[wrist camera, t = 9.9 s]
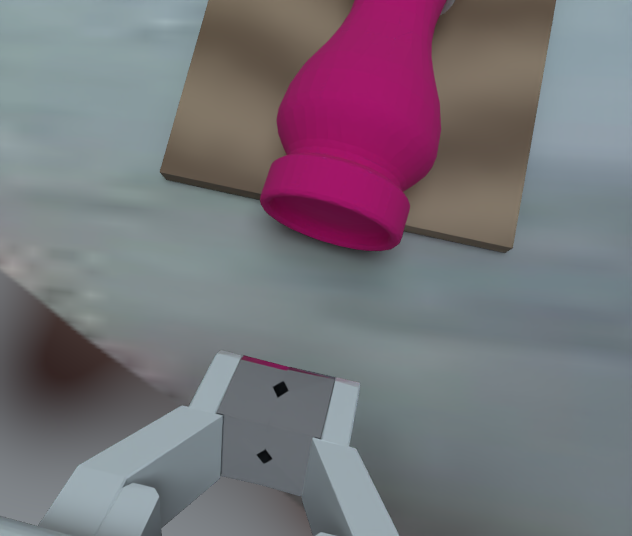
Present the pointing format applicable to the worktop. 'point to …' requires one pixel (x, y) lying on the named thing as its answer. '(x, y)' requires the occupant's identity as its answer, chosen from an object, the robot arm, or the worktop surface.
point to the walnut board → (452, 86)
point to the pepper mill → (359, 127)
